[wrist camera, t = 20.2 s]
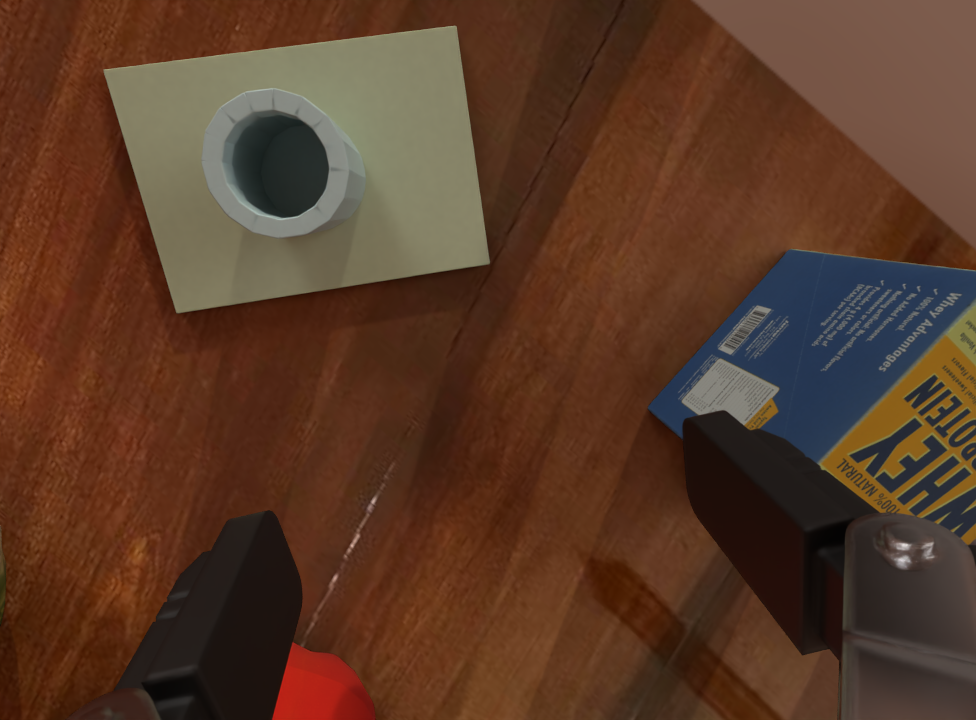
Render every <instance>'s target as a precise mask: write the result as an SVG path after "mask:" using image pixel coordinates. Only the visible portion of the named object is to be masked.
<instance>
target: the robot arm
mask: <svg viewBox="0 0 976 720" xmlns="http://www.w3.org/2000/svg"><path fill="white" fill-rule="evenodd" d="M682 434H683V448H684V461H685V475H686V487H687V493H688V497H689V500H690V503H691V506H692V508H693V511H694V513H695V514H696V516H697V518H698V519H699V521H700V522H701V523H702V525H703V526H704V527H705V528H706V530H707V531H708V532H709V534H710V535H711V536H712V538H713V539H714V540H715V542H716V543H717V544H718V545H719V547H720V548H721V549H722V551H723V552H724V553H725V555H726V556H727V557H728V559H729V560H730V561H731V563H732V564H733V565H734V566H735V568H736V569H737V570H738V572H739V573H740V574H741V576H742V577H743V578H744V580H745V581H746V582H747V584H748V585H749V586H750V587H751V589H752V590H753V591H754V593H755V594H756V595H757V597H758V598H759V599H760V601H761V602H762V603H763V604H764V606H765V607H766V608H767V610H768V611H769V612H770V614H771V615H772V616H773V618H774V619H775V620H776V622H777V623H778V624H779V625H780V627H781V628H782V629H783V631H784V632H785V633H786V635H787V636H788V637H789V639H790V640H791V641H792V642H793V644H794V645H795V646H796V648H797V649H798V650H799V652H800V653H801V654H802V655H806V654H810V653H814V652H818V651H822V650H826V649H830V650H831V651H832V653H833V654H834V655H835V656H836V657H837V659H838V660H839V682H838V712H837V720H976V545H967V544H966V543H965V542H964V541H963V540H962V539H961V538H960V537H959V536H957V535H956V534H955V533H953V532H952V531H950V530H948V529H947V528H945V527H943V526H941V525H939V524H937V523H935V522H932V521H929V520H927V519H924V518H920V517H916V516H912V515H907V514H901V513H880V512H879V511H878V510H876V509H875V508H874V507H872V506H871V505H870V504H869V503H867V502H866V501H865V500H863V499H862V498H861V497H860V496H858V495H857V494H856V493H854V492H853V491H852V490H851V489H849V488H848V487H847V486H845V485H844V484H843V483H842V482H840V481H839V480H838V479H836V478H835V477H834V476H833V475H831V474H830V473H829V472H827V471H826V470H822V469H821V466H820V465H818V464H817V463H816V462H814V461H813V460H812V459H811V458H809V457H805V454H804V453H803V452H802V451H800V450H799V449H798V448H796V447H795V446H794V445H793V444H791V443H790V442H789V441H787V440H786V439H785V438H782V437H779V436H777V435H774V434H772V433H769V432H766V431H764V430H761V429H759V428H758V429H753V430H749V429H748V428H746V427H745V426H744V425H743V424H742V423H740V422H739V421H738V420H737V419H736V418H734V417H733V416H732V415H731V414H730V413H728V412H727V411H725V410H720V411H715V412H711V413H706V414H702V415H698V416H693V417H689V418H685V419H684V421H683V425H682ZM301 608H302V585H301V579H300V576H299V573H298V570H297V567H296V565H295V562H294V559H293V557H292V554H291V552H290V549H289V547H288V544H287V541H286V539H285V536H284V534H283V531H282V528H281V526H280V523H279V521H278V518H277V517H276V515H275V514H274V513H273V512H272V511H270V510H268V511H264V512H259V513H255V514H250V515H246V516H241V517H237V518H232V519H229V520H228V521H227V522H226V524H225V525H224V527H223V529H222V531H221V533H220V535H219V536H218V538H217V540H216V542H215V544H214V546H213V548H212V550H211V551H207V552H203V553H202V554H201V555H200V556H199V557H198V558H197V559H196V560H195V561H194V562H193V563H192V564H191V565H190V566H189V567H188V568H187V569H186V570H185V571H184V572H182V573H181V574H180V576H179V578H178V580H177V581H176V583H175V585H174V586H173V588H172V590H171V592H170V593H169V595H168V597H167V602H164V604H163V606H162V607H161V609H160V611H159V613H158V614H157V616H156V622H153V623H152V625H151V626H150V628H149V630H148V632H147V633H146V635H145V637H144V639H143V640H142V642H141V644H140V646H139V647H138V649H137V651H136V653H135V654H134V656H133V658H132V660H131V661H130V663H129V665H128V666H127V668H126V670H125V672H124V673H123V675H122V677H121V679H120V680H119V682H118V684H117V686H116V687H115V689H114V691H112V692H110V693H107V694H104V695H102V696H100V697H98V698H96V699H94V700H92V701H91V702H89V703H87V704H86V705H84V706H83V707H81V708H80V709H78V710H77V711H75V712H74V713H73V714H72V715H70V716H69V717H68V718H67V719H65V720H272V718H273V714H274V710H275V707H276V703H277V699H278V695H279V692H280V688H281V684H282V680H283V676H284V673H285V669H286V665H287V661H288V658H289V654H290V650H291V646H292V642H293V639H294V635H295V631H296V627H297V623H298V620H299V616H300V612H301Z"/></svg>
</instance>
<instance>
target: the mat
mask: <svg viewBox="0 0 976 720" xmlns="http://www.w3.org/2000/svg"><path fill="white" fill-rule="evenodd" d="M104 74H105V77H106V81H107V84H108V87H109V91H110V94H111V97H112V101H113V104H114V107H115V111H116V114H117V117H118V121H119V124H120V127H121V131H122V134H123V137H124V141H125V144H126V147H127V151H128V154H129V157H130V161H131V164H132V167H133V170H134V174H135V177H136V180H137V184H138V187H139V190H140V194H141V197H142V200H143V204H144V207H145V210H146V214H147V217H148V220H149V224H150V227H151V230H152V234H153V237H154V240H155V244H156V247H157V250H158V253H159V257H160V260H161V263H162V267H163V270H164V273H165V277H166V280H167V283H168V287H169V290H170V293H171V297H172V300H173V303H174V307H175V310H176V313H184V312H190V311H196V310H203V309H209V308H215V307H222V306H228V305H234V304H241V303H247V302H253V301H260V300H266V299H272V298H279V297H285V296H291V295H298V294H304V293H310V292H317V291H323V290H329V289H335V288H342V287H348V286H354V285H361V284H367V283H373V282H380V281H386V280H392V279H399V278H405V277H411V276H418V275H424V274H430V273H437V272H443V271H449V270H456V269H462V268H468V267H474V266H481V265H487V264H490V261H489V254H488V247H487V240H486V233H485V226H484V218H483V211H482V204H481V197H480V190H479V183H478V176H477V169H476V162H475V155H474V148H473V141H472V133H471V126H470V119H469V112H468V105H467V98H466V91H465V84H464V77H463V70H462V63H461V56H460V48H459V41H458V34H457V27H456V26H449V27H441V28H433V29H425V30H417V31H409V32H401V33H394V34H386V35H378V36H370V37H362V38H354V39H346V40H338V41H330V42H322V43H314V44H306V45H298V46H290V47H282V48H274V49H266V50H258V51H250V52H242V53H234V54H226V55H218V56H210V57H202V58H194V59H186V60H178V61H171V62H163V63H155V64H147V65H139V66H131V67H123V68H115V69H107V70H104ZM269 88H276V89H279V90H283V91H286V92H290V93H293V94H297V95H300V96H303V97H304V98H306V99H307V100H308V101H310V102H311V103H312V104H314V105H315V106H316V107H318V108H319V109H320V110H322V111H323V112H324V113H325V114H327V115H328V116H329V117H330V118H331V119H332V120H333V121H334V122H335V123H336V124H337V125H338V126H339V127H340V128H341V129H342V130H343V131H344V132H345V133H346V134H347V135H348V136H349V137H350V139H351V140H352V142H353V144H354V145H355V146H356V148H357V150H358V151H359V153H360V155H361V157H362V161H363V164H364V168H365V175H366V184H365V191H364V194H363V198H362V201H361V202H360V204H359V206H358V208H357V209H356V211H355V212H354V213H353V214H352V216H351V217H350V218H349V219H347V220H346V221H344V222H343V223H341V224H339V225H337V226H336V227H334V228H332V229H328V230H324V231H320V232H316V233H312V234H308V235H304V236H297V237H290V238H284V239H277V238H272V237H268V236H264V235H260V234H256V233H252V232H251V231H249V230H247V229H246V228H244V227H243V226H241V225H240V224H238V223H237V222H235V221H234V220H232V219H231V218H230V217H228V216H227V215H226V214H225V213H224V211H223V210H222V208H221V207H220V206H219V204H218V203H217V201H216V200H215V199H214V197H213V196H212V195H211V193H210V190H209V189H208V186H207V182H206V179H205V175H204V171H203V167H202V164H201V162H202V160H201V157H202V150H203V142H204V134H205V133H206V132H205V130H206V129H207V127H208V125H209V124H210V122H211V120H212V119H213V117H214V116H215V114H216V112H217V111H218V109H219V108H221V106H223V105H224V104H226V103H227V102H229V101H230V100H232V99H234V98H235V97H237V96H238V95H240V94H241V93H245V92H246V91H254V90H261V89H269Z"/></svg>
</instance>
